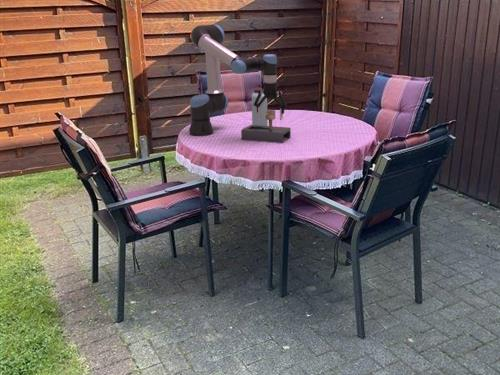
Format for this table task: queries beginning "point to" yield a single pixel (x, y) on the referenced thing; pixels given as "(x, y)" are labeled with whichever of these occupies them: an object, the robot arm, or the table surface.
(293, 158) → the table surface
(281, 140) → the keyhole plate
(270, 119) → the peg
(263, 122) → the water bottle
